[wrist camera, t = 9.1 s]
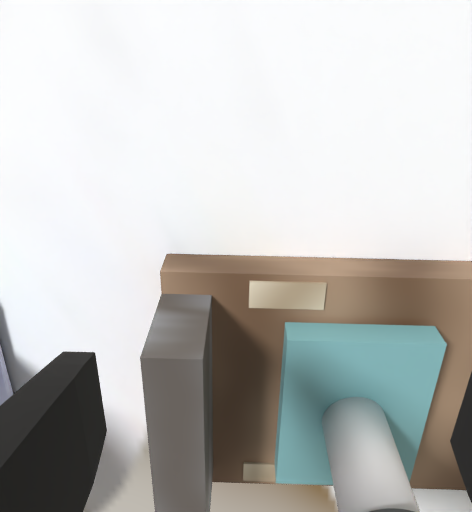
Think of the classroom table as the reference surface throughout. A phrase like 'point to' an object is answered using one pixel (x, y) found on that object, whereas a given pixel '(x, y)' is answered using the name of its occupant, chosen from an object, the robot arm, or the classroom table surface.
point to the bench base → (280, 359)
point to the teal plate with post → (356, 409)
